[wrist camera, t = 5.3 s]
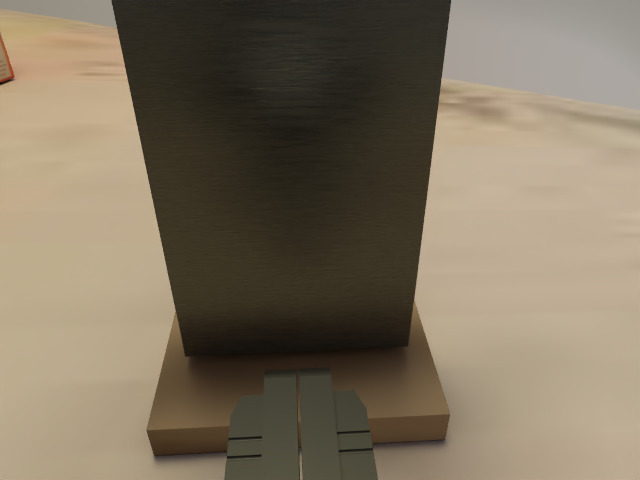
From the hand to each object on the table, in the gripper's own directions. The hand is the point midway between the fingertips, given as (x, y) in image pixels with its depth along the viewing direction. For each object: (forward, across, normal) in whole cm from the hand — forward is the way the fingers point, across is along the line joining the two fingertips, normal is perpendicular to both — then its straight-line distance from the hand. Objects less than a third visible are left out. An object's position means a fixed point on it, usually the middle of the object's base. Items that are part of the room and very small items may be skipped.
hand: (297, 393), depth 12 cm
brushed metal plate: (+11, 0, +6) cm, 12 cm away
